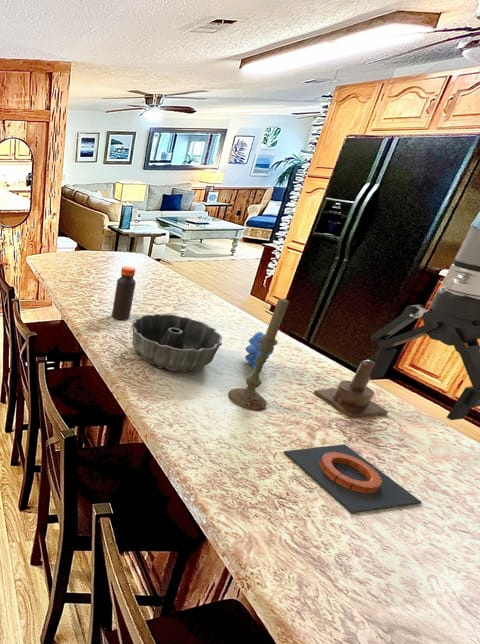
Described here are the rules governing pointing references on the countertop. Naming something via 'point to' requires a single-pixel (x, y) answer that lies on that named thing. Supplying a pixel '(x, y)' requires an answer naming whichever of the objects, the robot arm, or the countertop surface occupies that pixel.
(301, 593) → the countertop surface
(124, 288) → the bottle
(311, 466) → the mat
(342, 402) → the stand
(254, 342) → the grapes
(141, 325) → the bundt pan
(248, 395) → the candlestick holder
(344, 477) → the ring
